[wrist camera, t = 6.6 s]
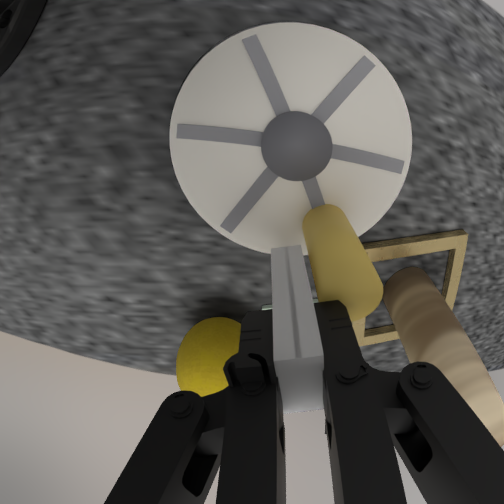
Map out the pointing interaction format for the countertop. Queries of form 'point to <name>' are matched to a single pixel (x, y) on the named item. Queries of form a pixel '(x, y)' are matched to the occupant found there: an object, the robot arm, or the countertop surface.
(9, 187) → the countertop surface
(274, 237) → the handwheel
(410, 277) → the dowel
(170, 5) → the countertop surface
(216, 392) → the robot arm
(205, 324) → the lemon
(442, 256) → the countertop surface
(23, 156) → the countertop surface
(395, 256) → the square gold frame
